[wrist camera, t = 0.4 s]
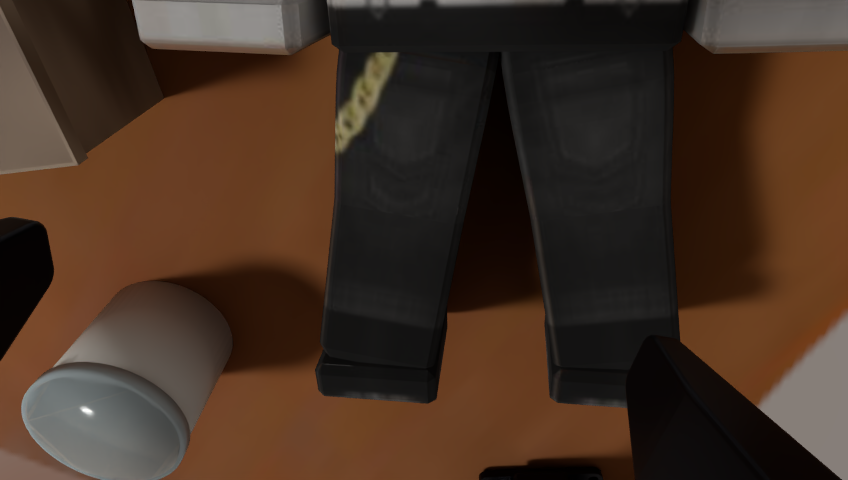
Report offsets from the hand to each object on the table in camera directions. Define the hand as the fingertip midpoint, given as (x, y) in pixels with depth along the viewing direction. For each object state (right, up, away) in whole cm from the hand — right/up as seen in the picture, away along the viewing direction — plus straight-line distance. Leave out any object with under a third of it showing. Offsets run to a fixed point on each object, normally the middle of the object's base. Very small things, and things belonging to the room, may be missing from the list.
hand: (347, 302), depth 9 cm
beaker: (-11, -3, +19) cm, 22 cm away
